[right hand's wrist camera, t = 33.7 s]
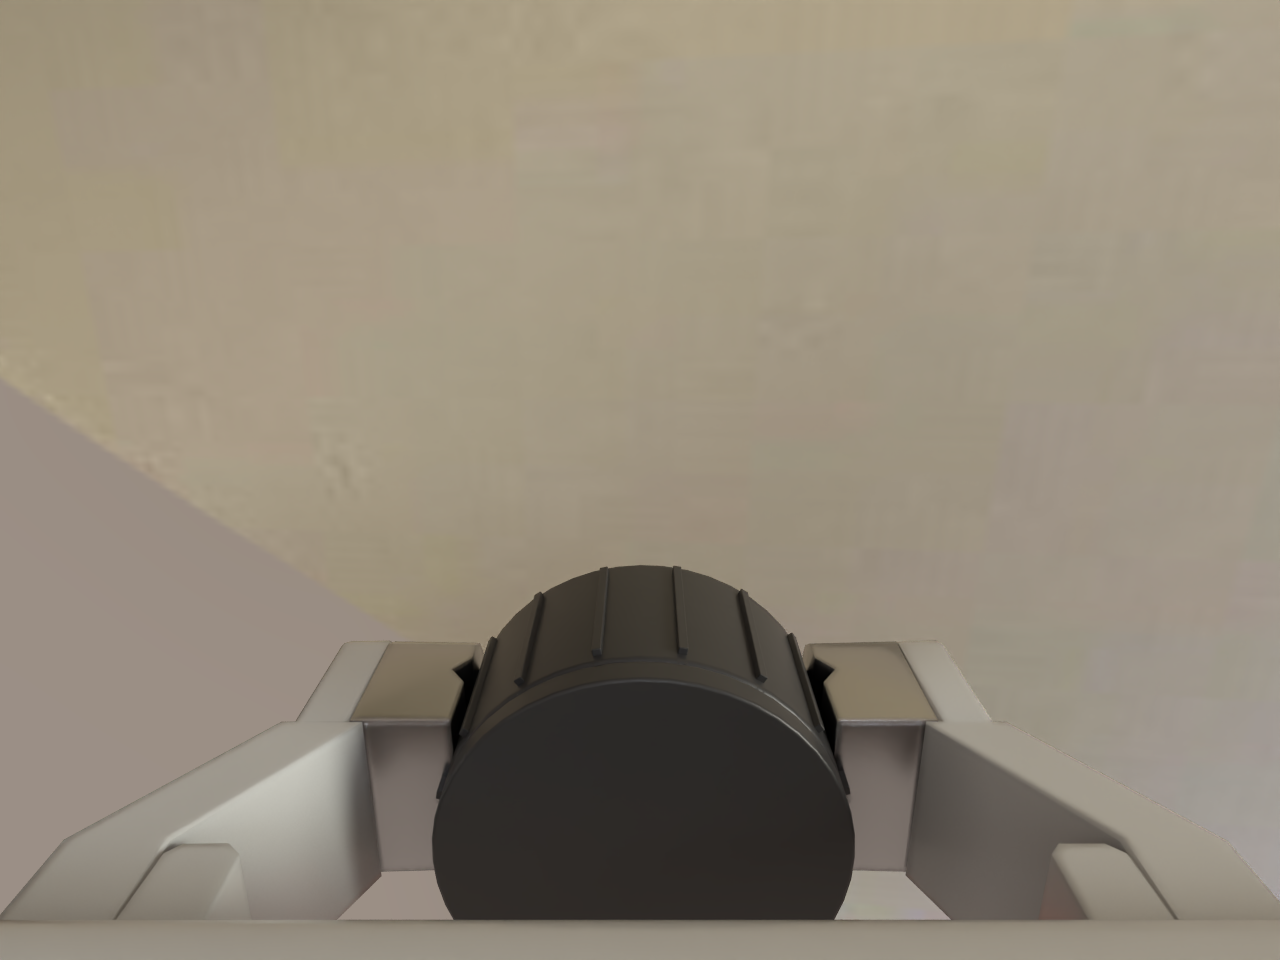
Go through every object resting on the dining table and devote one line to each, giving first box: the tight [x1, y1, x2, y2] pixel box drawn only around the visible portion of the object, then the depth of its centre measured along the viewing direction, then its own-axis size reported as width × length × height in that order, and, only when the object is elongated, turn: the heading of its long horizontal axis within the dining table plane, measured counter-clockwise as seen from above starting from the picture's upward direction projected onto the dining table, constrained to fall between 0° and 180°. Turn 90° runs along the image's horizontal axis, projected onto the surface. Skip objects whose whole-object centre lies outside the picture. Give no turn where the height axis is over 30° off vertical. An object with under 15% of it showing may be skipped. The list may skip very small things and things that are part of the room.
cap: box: [432, 565, 855, 920], centre depth 9 cm, size 4×4×2 cm
